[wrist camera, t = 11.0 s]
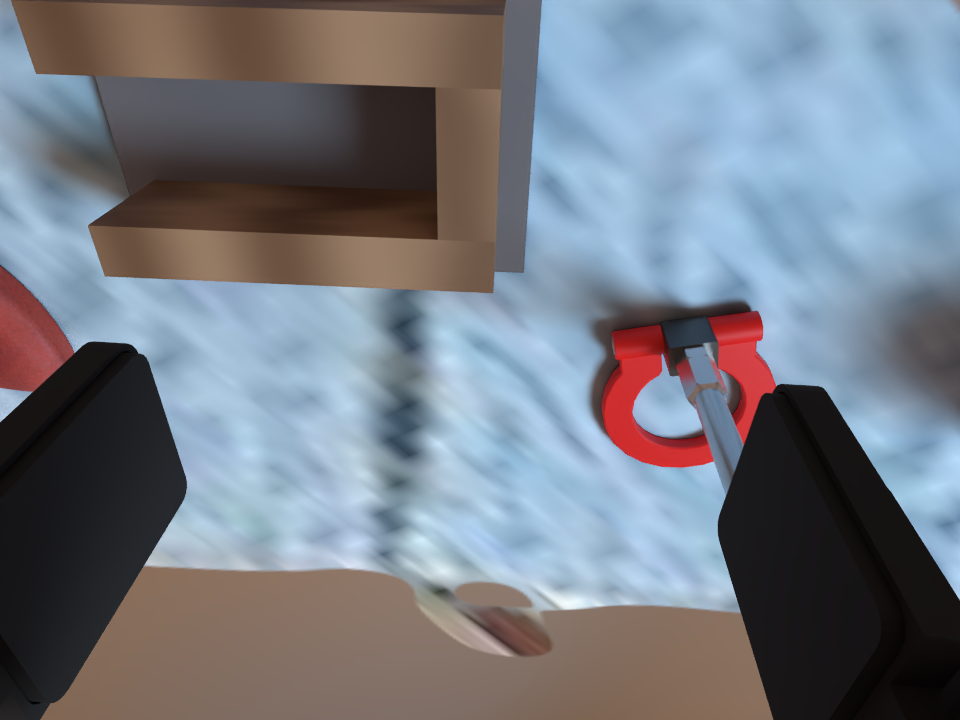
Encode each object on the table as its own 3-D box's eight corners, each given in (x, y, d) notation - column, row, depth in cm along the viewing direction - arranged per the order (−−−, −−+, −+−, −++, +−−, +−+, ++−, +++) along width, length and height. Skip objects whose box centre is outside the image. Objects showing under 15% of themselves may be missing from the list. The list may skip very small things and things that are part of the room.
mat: (544, -48, 22) (545, -47, 22) (523, 267, 29) (523, 272, 28) (63, -61, 23) (54, -61, 22) (152, 252, 29) (147, 256, 29)
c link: (506, -1, 22) (503, 15, 18) (496, 238, 28) (492, 292, 23) (103, -12, 23) (11, 0, 19) (166, 225, 28) (104, 276, 24)
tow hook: (764, 443, 34) (775, 298, 29) (870, 683, 24) (919, 527, 19) (607, 460, 36) (590, 325, 30) (645, 695, 25) (629, 553, 20)
